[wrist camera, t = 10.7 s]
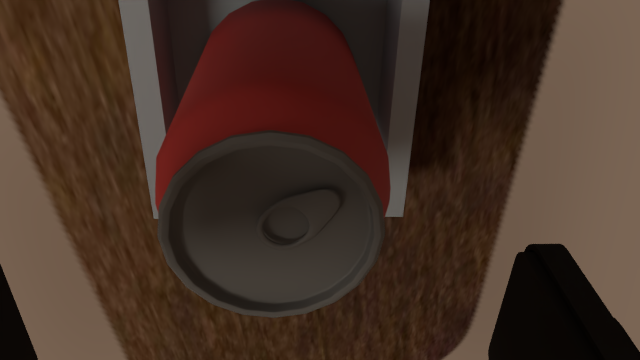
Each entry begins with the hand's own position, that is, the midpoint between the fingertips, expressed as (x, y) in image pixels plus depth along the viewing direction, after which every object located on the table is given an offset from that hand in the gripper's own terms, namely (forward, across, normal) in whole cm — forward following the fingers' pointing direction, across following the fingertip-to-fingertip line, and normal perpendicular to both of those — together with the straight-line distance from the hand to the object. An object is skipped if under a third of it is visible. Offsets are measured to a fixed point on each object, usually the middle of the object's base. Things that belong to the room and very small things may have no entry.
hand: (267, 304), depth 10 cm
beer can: (+15, 0, +1) cm, 15 cm away
